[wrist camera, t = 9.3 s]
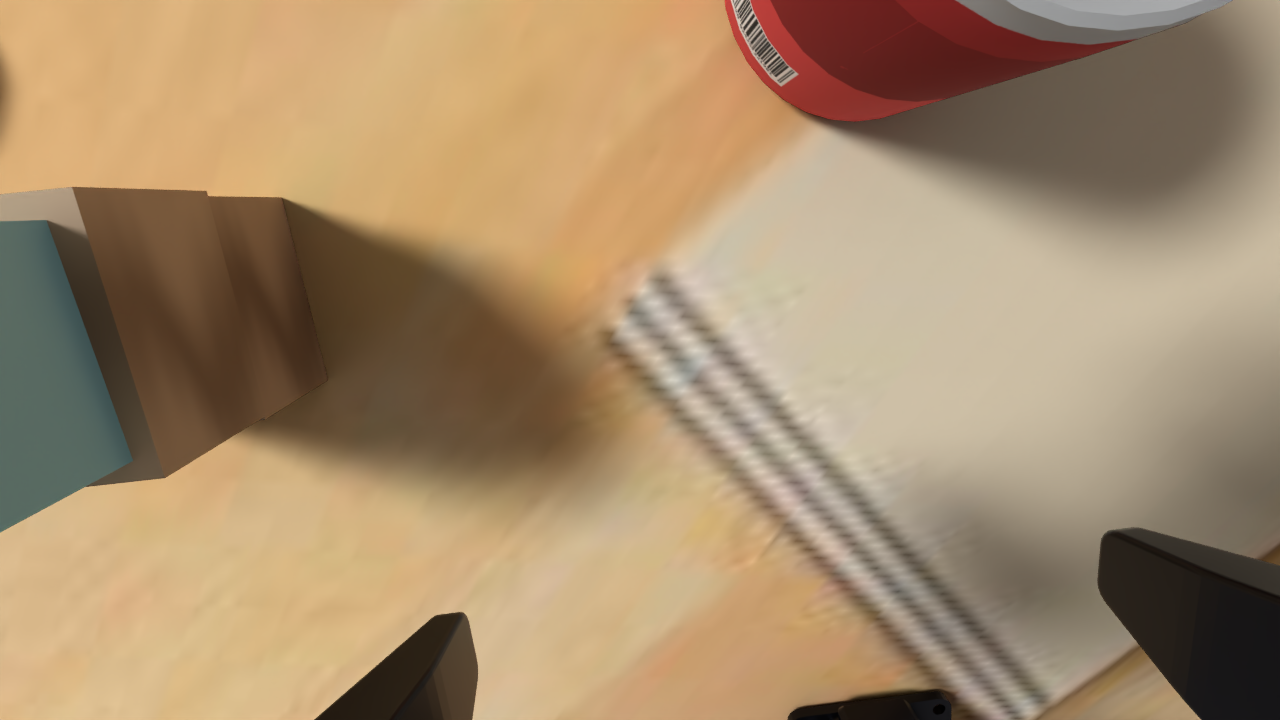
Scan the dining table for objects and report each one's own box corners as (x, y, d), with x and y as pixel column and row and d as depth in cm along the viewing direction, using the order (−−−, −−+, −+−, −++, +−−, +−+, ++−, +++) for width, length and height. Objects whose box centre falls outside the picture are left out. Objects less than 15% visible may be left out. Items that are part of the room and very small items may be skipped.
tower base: (329, 379, 21) (264, 419, 17) (151, 401, 21) (46, 446, 17) (283, 197, 19) (201, 196, 16) (91, 220, 19) (-39, 224, 15)
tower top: (266, 415, 17) (165, 477, 13) (46, 439, 17) (-122, 509, 13) (206, 191, 16) (71, 187, 12) (-36, 216, 15) (-252, 220, 12)
